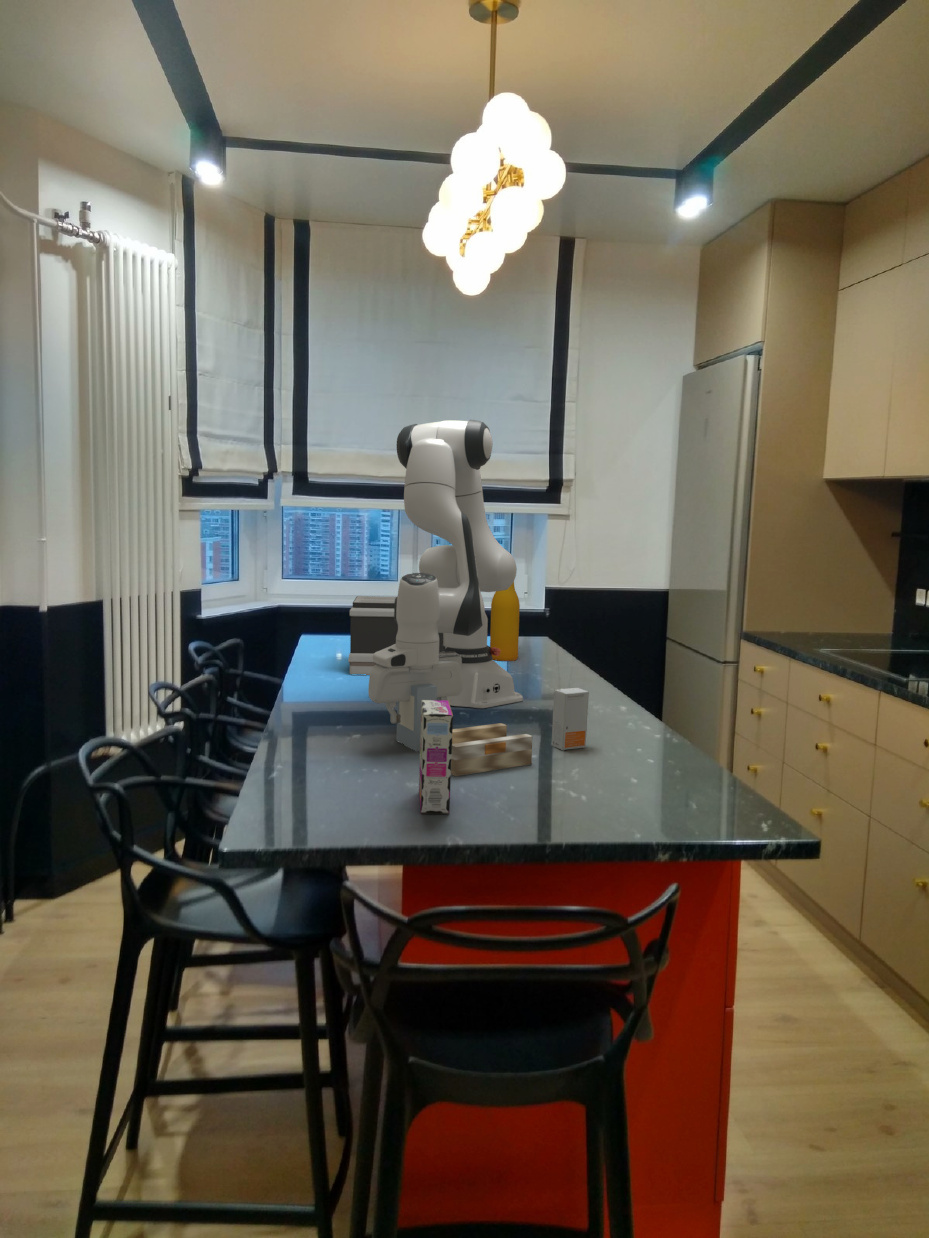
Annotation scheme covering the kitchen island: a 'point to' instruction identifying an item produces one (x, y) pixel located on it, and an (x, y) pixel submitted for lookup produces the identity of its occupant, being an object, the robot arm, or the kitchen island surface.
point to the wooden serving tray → (488, 749)
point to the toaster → (372, 631)
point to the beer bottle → (505, 624)
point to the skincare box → (570, 718)
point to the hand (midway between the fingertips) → (416, 720)
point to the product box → (413, 715)
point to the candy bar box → (435, 756)
